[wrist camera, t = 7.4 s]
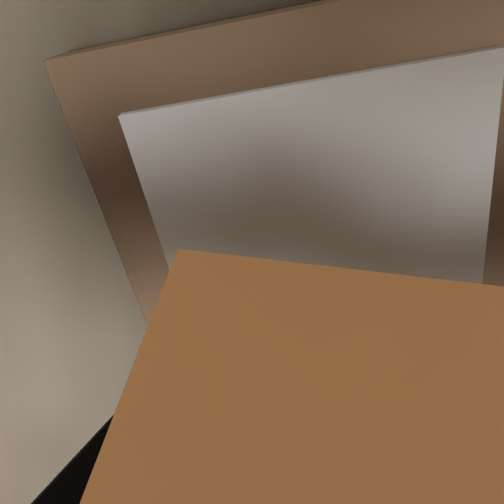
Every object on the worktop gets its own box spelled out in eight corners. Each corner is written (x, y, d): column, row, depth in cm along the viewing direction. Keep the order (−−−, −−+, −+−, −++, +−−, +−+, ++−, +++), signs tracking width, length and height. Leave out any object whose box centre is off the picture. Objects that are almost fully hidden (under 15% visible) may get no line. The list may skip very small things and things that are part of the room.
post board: (473, 516, 22) (548, 730, 16) (240, 523, 24) (225, 719, 18) (550, -47, 10) (990, -81, 4) (68, 51, 12) (-177, 139, 6)
